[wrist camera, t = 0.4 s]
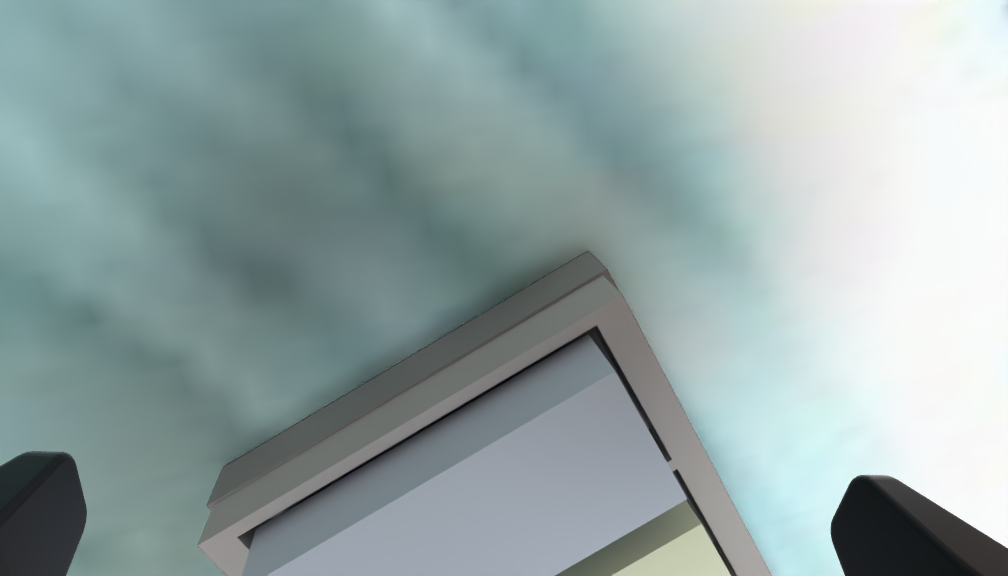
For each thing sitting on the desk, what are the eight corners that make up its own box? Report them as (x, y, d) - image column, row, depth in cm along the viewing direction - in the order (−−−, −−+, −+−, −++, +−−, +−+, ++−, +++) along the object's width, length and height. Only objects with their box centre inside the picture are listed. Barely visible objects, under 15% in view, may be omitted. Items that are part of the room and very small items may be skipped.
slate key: (347, 628, 20) (342, 698, 18) (256, 529, 19) (236, 592, 16) (654, 450, 20) (687, 499, 18) (588, 333, 18) (615, 371, 16)
